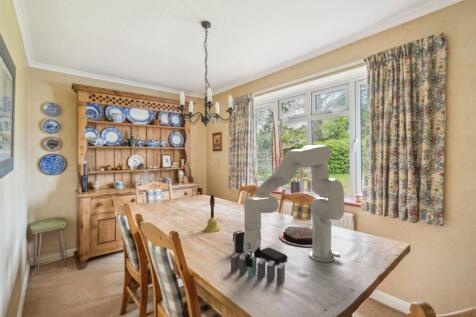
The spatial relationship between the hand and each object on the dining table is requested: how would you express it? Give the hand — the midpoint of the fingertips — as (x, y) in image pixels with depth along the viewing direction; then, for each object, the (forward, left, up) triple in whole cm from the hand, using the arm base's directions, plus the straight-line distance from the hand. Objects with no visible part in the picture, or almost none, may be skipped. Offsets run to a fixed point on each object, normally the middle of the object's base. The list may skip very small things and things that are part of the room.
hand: (253, 261), depth 106 cm
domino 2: (+5, 0, -6) cm, 7 cm away
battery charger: (+17, -19, -6) cm, 26 cm away
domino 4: (-4, 0, -6) cm, 7 cm away
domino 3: (0, 0, -6) cm, 6 cm away
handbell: (+51, -44, -6) cm, 67 cm away
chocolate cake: (-10, -55, -6) cm, 56 cm away
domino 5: (-8, 0, -6) cm, 10 cm away
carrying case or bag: (-2, -21, -6) cm, 22 cm away
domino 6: (-13, 0, -6) cm, 14 cm away
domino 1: (+9, 0, -6) cm, 11 cm away
